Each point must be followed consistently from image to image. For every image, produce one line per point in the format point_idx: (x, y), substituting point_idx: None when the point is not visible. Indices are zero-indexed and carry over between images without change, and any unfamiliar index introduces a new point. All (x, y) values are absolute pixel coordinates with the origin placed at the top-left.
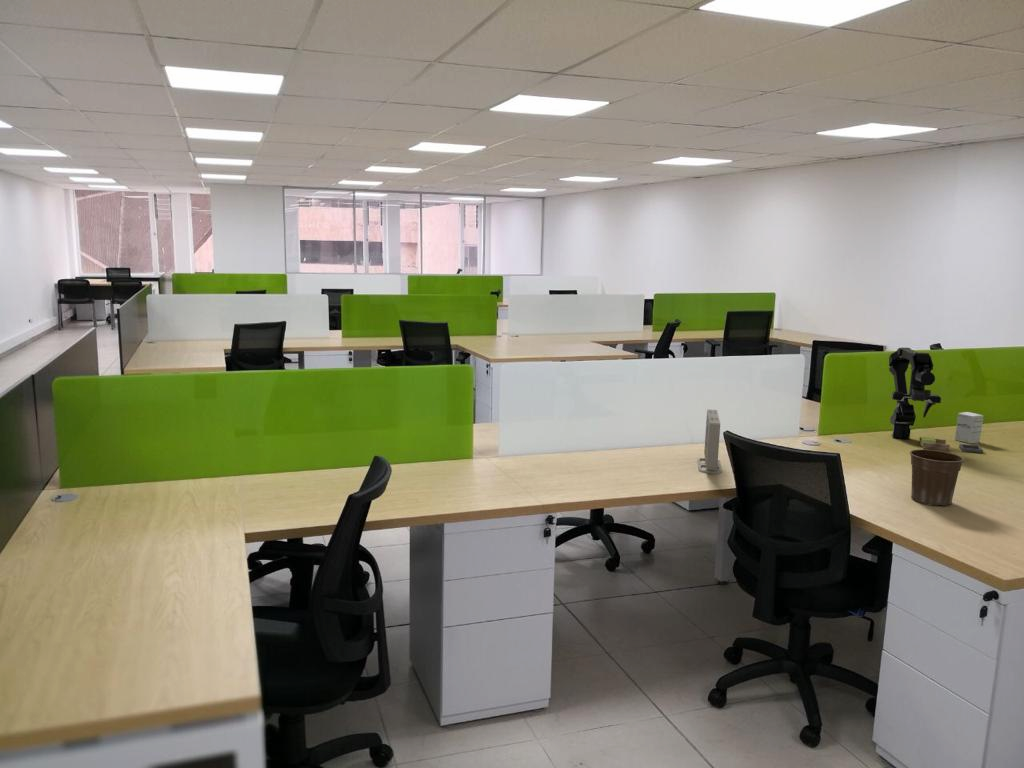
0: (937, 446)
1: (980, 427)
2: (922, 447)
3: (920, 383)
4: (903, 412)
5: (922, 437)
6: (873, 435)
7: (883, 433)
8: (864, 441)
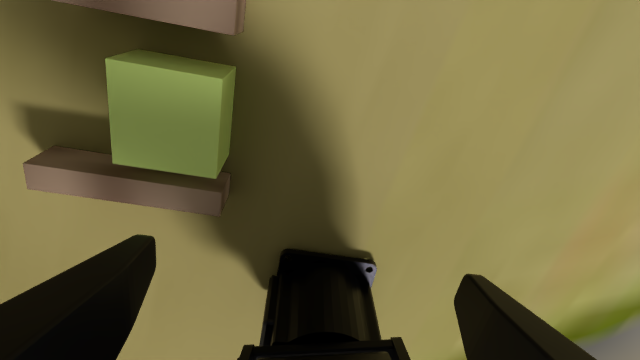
0: None
1: None
2: (242, 30)
3: None
4: (513, 310)
5: (212, 157)
6: None
7: None
8: (635, 132)
